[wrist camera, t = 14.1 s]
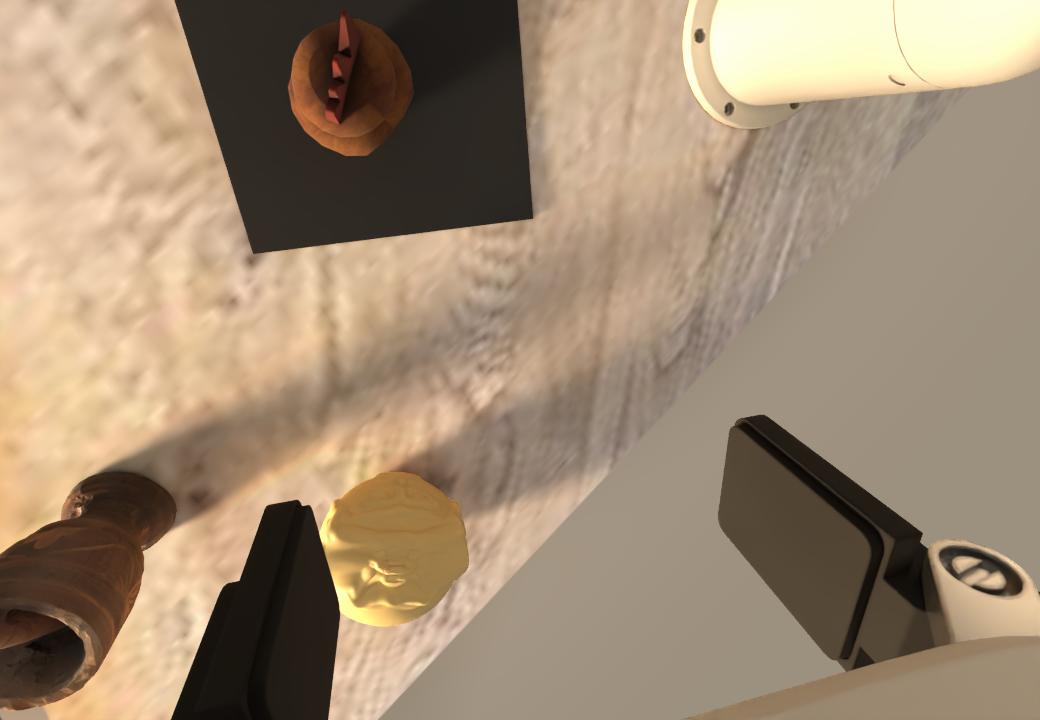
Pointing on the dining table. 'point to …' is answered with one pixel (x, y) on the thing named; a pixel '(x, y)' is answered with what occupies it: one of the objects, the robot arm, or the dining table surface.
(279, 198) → the mat
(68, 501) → the mortar and pestle
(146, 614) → the dining table surface
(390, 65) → the wooden figurine
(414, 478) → the sculpture
